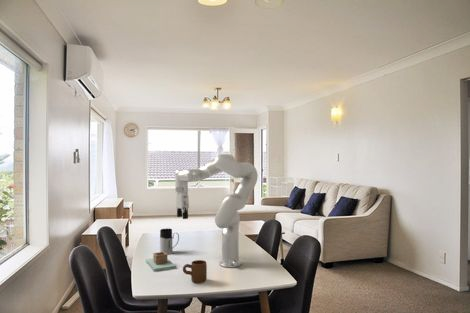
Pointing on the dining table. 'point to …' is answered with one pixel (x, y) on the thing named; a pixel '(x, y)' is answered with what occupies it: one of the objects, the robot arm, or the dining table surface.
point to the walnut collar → (160, 258)
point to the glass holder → (166, 241)
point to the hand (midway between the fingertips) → (182, 217)
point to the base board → (160, 265)
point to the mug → (197, 271)
